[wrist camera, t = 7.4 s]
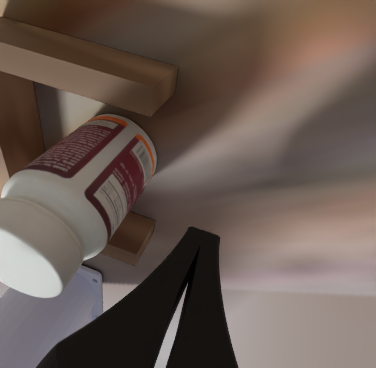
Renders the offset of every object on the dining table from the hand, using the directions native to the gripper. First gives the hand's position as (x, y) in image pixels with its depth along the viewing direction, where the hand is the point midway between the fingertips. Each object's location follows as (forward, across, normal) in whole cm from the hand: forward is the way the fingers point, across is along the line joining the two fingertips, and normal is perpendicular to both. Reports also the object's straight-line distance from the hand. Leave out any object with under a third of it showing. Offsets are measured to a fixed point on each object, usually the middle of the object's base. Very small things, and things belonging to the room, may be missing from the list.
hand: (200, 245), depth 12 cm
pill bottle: (+5, +6, 0) cm, 8 cm away
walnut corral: (+4, +7, 0) cm, 9 cm away
